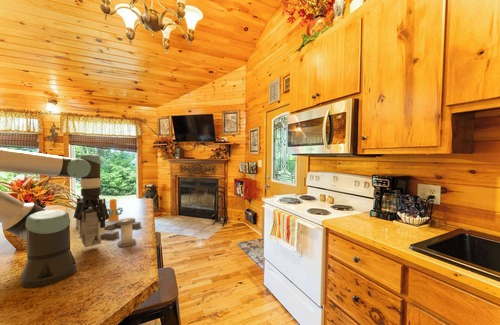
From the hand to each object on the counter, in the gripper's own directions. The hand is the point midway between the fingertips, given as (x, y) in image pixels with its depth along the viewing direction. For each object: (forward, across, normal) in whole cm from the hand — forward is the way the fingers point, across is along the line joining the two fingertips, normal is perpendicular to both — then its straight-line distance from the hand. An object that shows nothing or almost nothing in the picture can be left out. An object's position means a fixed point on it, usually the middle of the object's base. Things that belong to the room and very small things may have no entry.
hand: (91, 233), depth 102 cm
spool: (+7, -11, -9) cm, 16 cm away
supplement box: (+8, +40, -29) cm, 50 cm away
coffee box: (+5, 0, 0) cm, 5 cm away
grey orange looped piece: (+7, +28, -40) cm, 50 cm away
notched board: (+7, +12, -23) cm, 27 cm away
